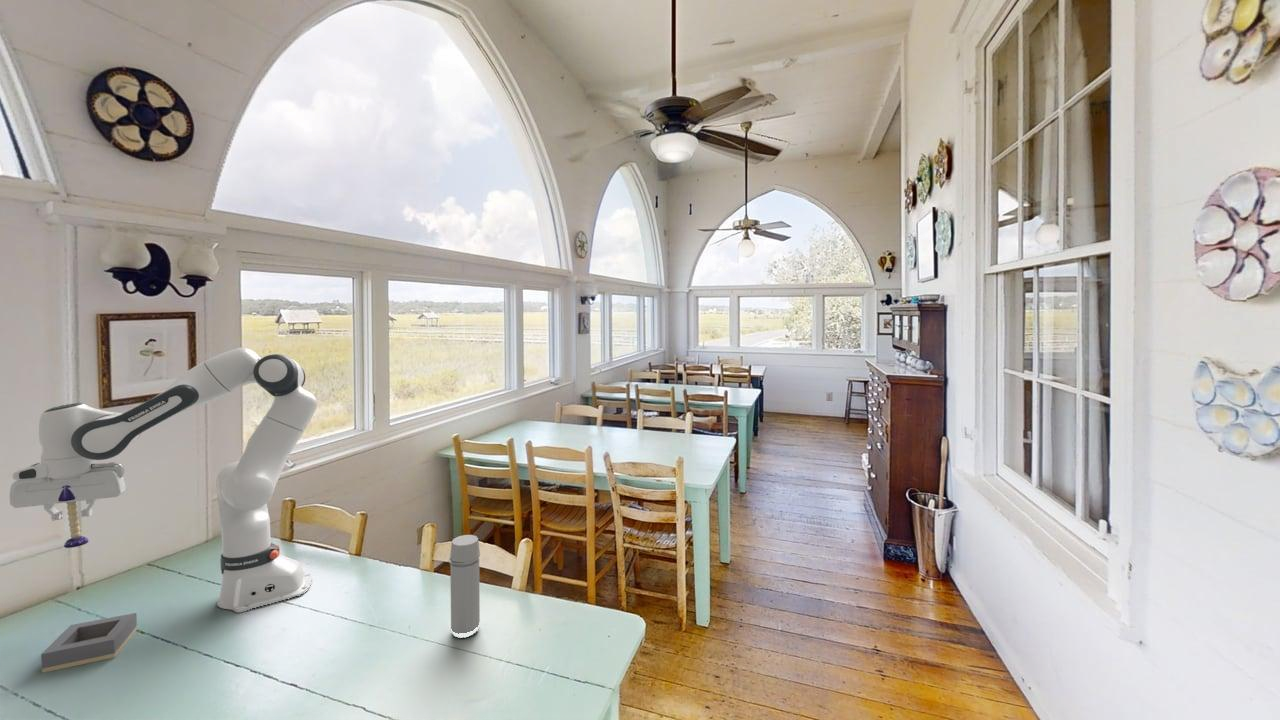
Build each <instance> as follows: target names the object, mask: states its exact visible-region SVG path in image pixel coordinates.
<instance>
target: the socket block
mask: <svg viewBox="0 0 1280 720" xmlns="http://www.w3.org/2000/svg"><path fill="white" fill-rule="evenodd" d="M137 622H138V621H137V612H133V613H128V614H122V615H118V616H117V615H116V616H112V617H108V618H107V617H106V618H101V619H96V620H91V621H86V622H79V623H74V624H70V625H69V626H68V627H67V628H65V630H64V631H63V632H62V633H60V635H59V636H58V637H57V638H56V639H55V640H54V641H53V642H52V643H51V644H50V645H49V646H48V647H46V649H45V650H44V651H43V652H42V653H41V654H40V655H41V657H40V659H41V671H42V672H41V673H48V672H53V671H54V672H55V671H58V670H63V669H67V668H71V667H77V666H81V665H85V664H90V663H95V662H99V661H106V660H109V659H113V658H115V657H117V656H118V654H119V653H120V651H121V650H122V649H123V648H124V647H125V645H126V644H127V643H128V641H130V640H131V638H132V637H133V635H134V633H136V631H137V630H138V625H137V624H138V623H137Z"/></svg>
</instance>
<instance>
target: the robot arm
mask: <svg viewBox="0 0 1280 720" xmlns="http://www.w3.org/2000/svg"><path fill="white" fill-rule="evenodd" d="M305 382H306V374H305V371H304V369H303V368H302V367H301V365H300V364H299V363H298V362H297V361H296V360H294V359H292V358H291V357H289V356H287V355H284V354H277V353H276V354H269V355H268V354H267V355H265V356H263V357H260V355H259V354H257V352H255V351H254V350H252V349H250V348H248V347H237V348H234V349H230V350H227V351H225V352H223V353H219V354H217V355H214V356H213V357H210V358H208V359H206V360H204V361H202V362H201V363H199V364H197V365H196V366H193V367H192V368H190V369H189V370H187V371H186V372H184V373H183V374H182V375H181V376H179V377H178V378H177V379H176V380H175V381H173V383H171V384H170V385H169V386H168V387H166V388H165V389H164V390H162V392H160V393H158V394H157V395H155V396H154V397H152V398H151V399H148V400H147V401H144V402H142V403H141V404H139V405H137V406H135V407H133V408H132V409H129V410H127V411H125V412H115V411H107V410H103V409H98V408H95V407H91V406H89V405H88V404H85V403H80V402H76V403H69V404H67V403H66V404H63V405H59V406H54V407H51V408H48V409H46V410H44V411H43V412H42V413H41V414H40V417H39V423H38V441H39V444H40V446H41V447H42V451H41V455H40V462H38V463H37V462H36V463H35V464H32V465H29V466H25V467H23V468H21V469H18V470H17V471H14V472H13V473H12V479H13V481H14V482H12V484H11V485H10V488H9V505H10V506H12V508H15V509H20V508H28V507H38V506H43V509H44V510H45V511H46V512H47V513H48V514H49V515H51V516H50V518H51V521H59V520H60V521H61V520H63V519H64V511H59V510H58V509H57V508H56V506H57V504H65V503H66V502H75V501H76V502H81V501H82V502H83V501H85V504H86V505H87V507H86V508H83V509H82V510H81V511H80V514H81V516H80V517H82V518H86V517H92V515H93V508H95V505H96V504H97V502H98V500H100V499H102V500H103V499H107V498H108V499H110V498H117V497H118V498H119V496H121V495H122V494H123V493H124V492H126V490H127V488H126V482H125V478H124V474H125V470H124V466H123V465H122V464H120V463H117V462H106V463H105V462H104V463H102V462H100V463H94V461H103V460H108V459H112V458H115V457H116V456H118V455H120V454H121V453H123V451H124V450H125V449H126V448H128V447H129V446H130V445H131V444H133V443H134V442H136V440H138V438H140V436H141V434H142V433H144V432H145V431H147V430H149V429H151V428H152V427H155V426H156V425H158V424H160V423H162V422H164V421H165V420H168V419H170V418H171V417H173V416H176V415H178V414H180V413H183V412H185V411H187V410H190V409H193V408H196V407H199V406H203V405H205V404H208V403H212V402H214V401H216V400H218V399H221V398H223V397H226V396H228V395H229V394H231V393H233V392H235V391H237V390H238V389H240V388H242V387H244V386H246V385H248V384H258V385H259V386H260V387H261V388H262V389H263V390H265V391H266V392H267V393H268V394H269V395H271V396H272V397H273V398H274V399H273V403H272V405H271V407H270V408H269V409H268V411H267V412H266V414H265V415H264V416H263V418H262V419H261V421H260V423H259V424H258V426H257V427H256V429H254V431H253V433H252V434H251V435H250V437H249V439H248V441H247V443H246V446H245V448H244V451H243V454H242V456H241V458H240V460H237V461H233V462H230V463H228V464H226V465H225V466H223V467H222V468H221V469H220V470H219V473H218V474H217V476H216V480H215V484H216V495H217V496H216V497H217V506H218V513H219V521H220V528H221V545H222V546H221V547H222V549H221V550H222V553H221V554H220V558H219V563H220V565H219V567H220V571H221V572H220V573H221V575H222V577H221V587H220V592H219V597H218V599H217V602H216V605H217V607H219V609H220V608H221V609H225V610H231V611H233V612H235V613H243V612H247V610H248V611H251V610H253V609H252V608H255V609H257V608H256V607H259V606H262V607H264V606H263V605H266V604H270V605H272V604H271V603H273V604H275V603H274V602H277V603H279V602H278V601H281V600H284V601H286V600H285V599H288V598H292V597H295V596H299V595H301V594H303V593H304V592H305V591H306V590H307V589H308V588H309V587H310V588H311V586H312V584H311V581H312V582H313V577H312V575H311V573H310V572H307V571H306V572H304V571H303V567H302V565H301V563H300V562H299V561H298V560H296V559H294V558H290V557H287V556H285V555H283V554H280V551H281V549H280V543H279V542H277V544H275V543H272V542H271V518H270V515H269V509H268V505H267V504H268V503H269V502H270V500H271V499H272V498H273V496H274V491H275V488H276V485H277V483H278V482H279V479H280V477H281V475H282V472H283V470H284V467H285V465H286V463H287V461H288V458H289V456H290V455H291V453H292V451H293V449H294V448H295V447H296V445H297V443H298V442H299V440H300V439H301V437H302V435H303V434H304V433H305V431H306V429H307V428H308V426H309V424H310V422H311V420H312V418H313V417H314V414H315V412H316V409H317V407H318V400H317V398H316V396H315V395H314V394H313V393H311V391H309V390H306V389H304V388H303V386H304V384H305ZM65 485H69V486H70V488H68V489H69V490H70V491H71V492H72V493H73V494H74V496H75V500H70V501H59V500H58V499H59V496H60V494H61V492H62V490H63V489H64V488H62V487H63V486H65ZM66 504H67V503H66ZM306 576H308V577H306ZM310 585H311V586H310ZM310 588H309V589H310ZM304 594H305V593H304ZM304 594H303V595H304ZM301 596H302V595H301ZM299 597H300V596H299ZM295 598H296V597H295ZM292 599H293V598H292ZM288 600H289V599H288ZM281 602H282V601H281ZM266 606H267V605H266ZM259 608H260V607H259ZM250 609H251V610H250Z"/></svg>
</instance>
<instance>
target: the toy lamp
mask: <svg viewBox="0 0 1280 720" xmlns="http://www.w3.org/2000/svg"><path fill="white" fill-rule="evenodd" d="M62 488H64V489H63V490H62V492H61V494H60V496H59V499H58V500H59V501H70V500H75V496H74V494H73V493H72V492H71V491H70V490H69V489H68V488H70V486H69V485H65V486H63V487H62ZM66 505H67V506H66V509H67V516H68V518H67V520H68V522H69V523H68V527H70V528H69V532H70V537H71V538H69V539H67V540H66V541H65V543H64V545H63V546H64V548H65V549H73V548H78V547H80V546H83V545H87V544H88V543H89V538H87V537H86V536H81V535H82V534H81V532H80V531H81V527H80V521H79V519H80V518H79V515H78V514H79V513H78V505H77V501H75V502H66Z"/></svg>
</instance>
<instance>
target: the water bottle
mask: <svg viewBox="0 0 1280 720" xmlns="http://www.w3.org/2000/svg"><path fill="white" fill-rule="evenodd" d="M450 548H451V549H450V554H449V555H450V557H449V558H448V559H447V562H448V564H450V566H449V567H450V630H451V629H452V631H453V632H455V633H458V634H459V633H467V632H470V631H473V630H474V629H475V628H476V627H478V625H479V622H480V620H481V619H480V611H481V610H480V607H481V606H480V601H481V600H480V557H481V552H480V551H481V550H480V543H479V538H478V537H477V535H474V534H463V535H458V536H457V537H454V538H453V539H452V540H451V546H450Z"/></svg>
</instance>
